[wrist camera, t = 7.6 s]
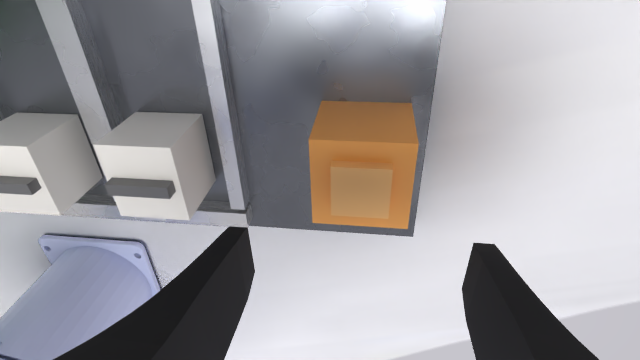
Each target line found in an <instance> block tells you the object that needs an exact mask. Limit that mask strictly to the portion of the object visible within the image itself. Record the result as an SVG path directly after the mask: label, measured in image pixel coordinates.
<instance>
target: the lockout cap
mask: <svg viewBox="0 0 640 360" xmlns="http://www.w3.org/2000/svg"><path fill="white" fill-rule="evenodd" d="M418 145H419V143H418V137H417V131H416V125H415V119H414V113H413V108H412V103H391V102H352V101H321V104H320V107H319V110H318V113H317V116H316V119H315V122H314V125H313V128H312V131H311V134H310V137H309V159H310V180H311V202H312V223H322V224H337V225H353V226H368V227H383V228H399V229H408V222H409V215H410V207H411V199H412V192H413V184H414V176H415V168H416V161H417V153H418Z"/></svg>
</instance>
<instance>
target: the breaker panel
mask: <svg viewBox="0 0 640 360" xmlns="http://www.w3.org/2000/svg"><path fill="white" fill-rule="evenodd" d="M445 6H446V0H0V121H2V120H4V119H5V118H7V117H9V116H11V115H13V114H15V113H48V114H78V117H79V119H80V122H81V124H82V127H83V129H84V132H85V134H86V137H87V139H88V142H89V144H90V147H91V149H92V152H93V154H94V157H95V159H96V162H97V164H98V167H99V169H100V172H101V174H102V177H103V178H102V179H101V180H100V181H98V182H97V183H96V184H95V185H94V186H93V187H92V188H91V189H90V190H89V191H87V192H86V193H85V194H84V195H83V196H82V197H81V198H80V199H79V200H78V201H77V202H75V203H74V204H73V205H72V206H71V207H70V208H69V209H68V210H67V211H66V212H64V213H63V214H62V215H66V216H81V217H95V218H110V219H125V220H140V221H154V222H169V223H184V224H199V225H213V226H228V227H230V226H233V227H247V228H248V227H249V226H262V227H277V228H292V229H307V230H322V231H337V232H352V233H367V234H381V235H396V236H411V237H413V233H414V225H415V218H416V211H417V204H418V197H419V190H420V183H421V176H422V169H423V162H424V155H425V147H426V140H427V133H428V126H429V119H430V112H431V105H432V98H433V91H434V84H435V77H436V70H437V62H438V55H439V48H440V41H441V34H442V27H443V20H444V13H445ZM321 101H352V102H391V103H412V108H413V113H414V119H415V125H416V131H417V137H418V143H419V145H418V153H417V161H416V168H415V176H414V184H413V192H412V199H411V207H410V215H409V222H408V229H399V228H383V227H368V226H353V225H337V224H322V223H312V202H311V180H310V159H309V137H310V134H311V131H312V128H313V125H314V122H315V119H316V116H317V113H318V110H319V107H320V104H321ZM135 112H158V113H191V114H202V115H203V120H204V125H205V129H206V134H207V139H208V144H209V149H210V154H211V158H212V163H213V168H214V173H215V178H216V181H215V182H214V184H213V185H212V187H211V188H210V190H209V192H208V193H207V195H206V196H205V198H204V199H203V201H202V202H201V204H200V205H199V207H198V209H197V210H196V212H195V213H194V215H193V216H192V218H191V219H190V220H175V219H160V218H145V217H130V216H121V215H120V212H119V209H118V207H117V204H116V202H115V199H114V197H113V196H109V195H108V193H107V191H106V188H105V186H104V184H105V183H106V182H107V179H106V176H105V174H104V171H103V169H102V166H101V164H100V161H99V159H98V156H97V153H96V151H95V148H94V146H93V144H95V143H96V142H97V141H99V140H100V139H101V138H102V137H104V136H105V135H106V134H108V133H109V132H110V131H112V130H113V129H114V128H115V127H117V126H118V125H119V124H121V123H122V122H123V121H125V120H126V119H127V118H128V117H130V116H131V115H132V114H134V113H135Z"/></svg>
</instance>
